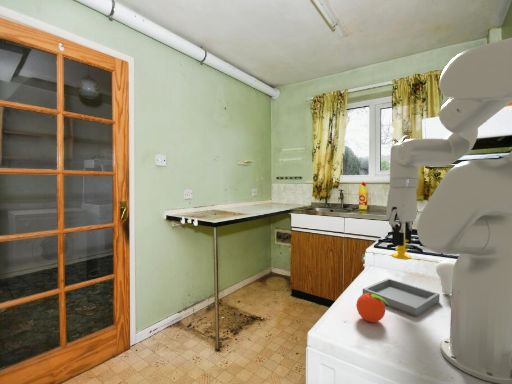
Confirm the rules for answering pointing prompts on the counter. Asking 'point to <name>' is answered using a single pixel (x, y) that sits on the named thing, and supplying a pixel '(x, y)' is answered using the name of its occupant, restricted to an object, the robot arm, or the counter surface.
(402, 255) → the candle
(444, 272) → the lightbulb
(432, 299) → the tray
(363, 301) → the clementine
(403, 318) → the counter surface
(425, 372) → the counter surface
